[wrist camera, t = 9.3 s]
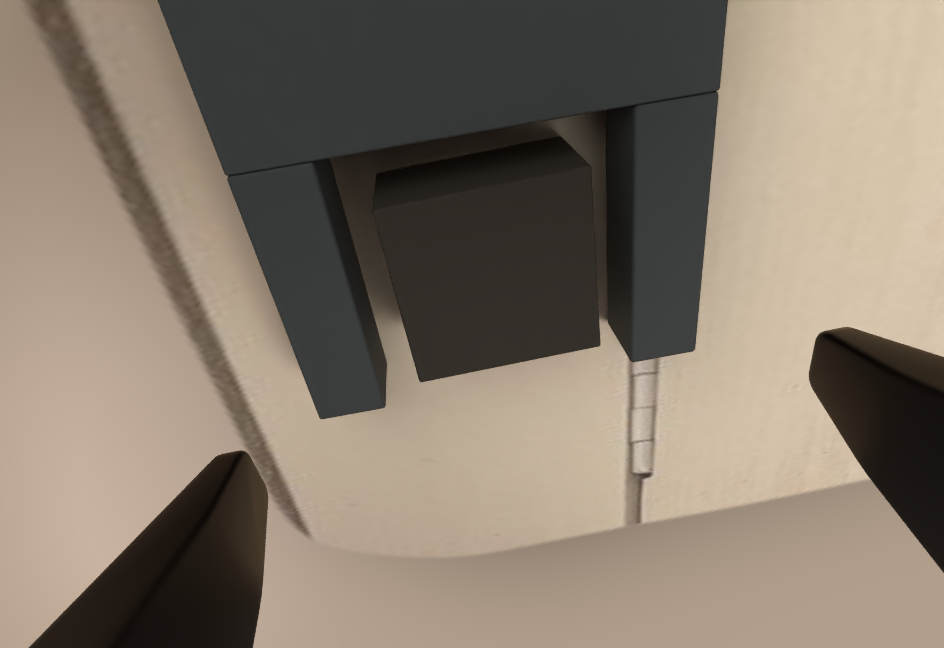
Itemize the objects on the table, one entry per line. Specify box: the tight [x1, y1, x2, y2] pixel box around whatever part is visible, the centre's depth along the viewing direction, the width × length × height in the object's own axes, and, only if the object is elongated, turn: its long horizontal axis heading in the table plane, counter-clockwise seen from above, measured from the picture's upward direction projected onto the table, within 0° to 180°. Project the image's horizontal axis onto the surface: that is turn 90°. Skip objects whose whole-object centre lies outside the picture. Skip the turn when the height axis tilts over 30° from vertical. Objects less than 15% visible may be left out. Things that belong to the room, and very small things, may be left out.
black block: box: [372, 136, 600, 382], centre depth 13 cm, size 4×4×2 cm
